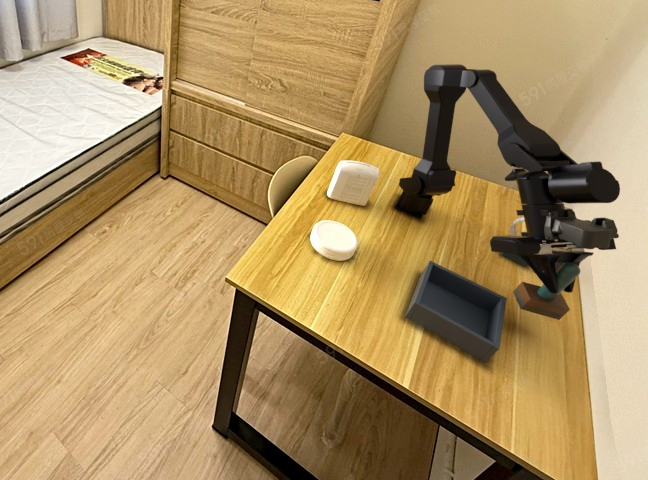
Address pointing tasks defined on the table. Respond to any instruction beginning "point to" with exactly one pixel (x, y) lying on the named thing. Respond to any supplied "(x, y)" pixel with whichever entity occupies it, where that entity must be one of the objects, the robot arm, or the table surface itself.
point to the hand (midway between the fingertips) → (561, 292)
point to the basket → (458, 311)
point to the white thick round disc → (333, 240)
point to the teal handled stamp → (547, 294)
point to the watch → (513, 232)
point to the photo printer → (353, 182)
